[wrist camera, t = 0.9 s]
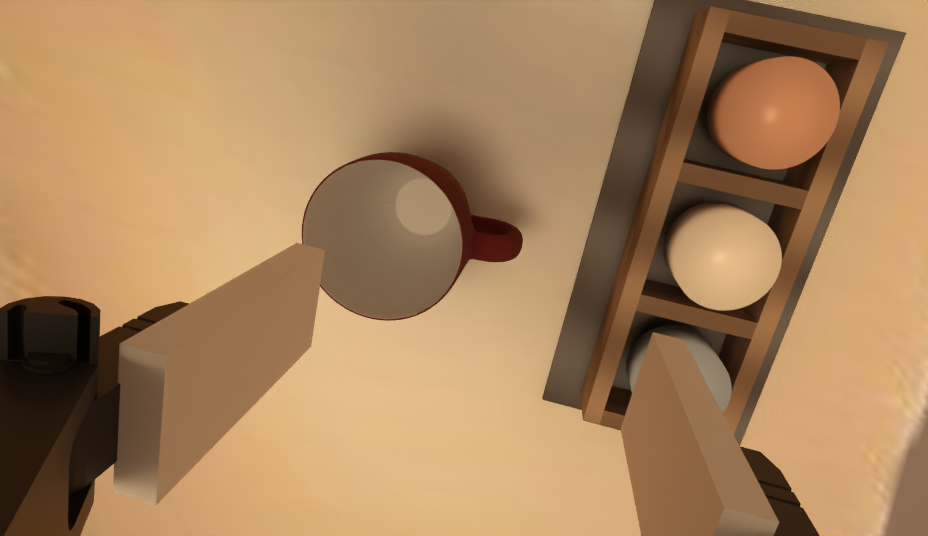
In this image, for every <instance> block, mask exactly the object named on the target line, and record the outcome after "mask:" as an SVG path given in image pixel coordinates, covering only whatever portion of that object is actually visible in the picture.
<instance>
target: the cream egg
mask: <svg viewBox="0 0 928 536" xmlns="http://www.w3.org/2000/svg"><path fill="white" fill-rule="evenodd" d="M664 257H665V261H666V264H667V267H668V269H669V271H670V272H671V274H672V275H673V277H674V278H675V280H676V281H677V283H678V284H679V286H680V287H681V289H682V290H683V292H684V293H685V294H686V295H687V296H688V297H689V298H690V299H691V300H693V301H694V302H696V303H697V304H699V305H701V306H703V307H706V308H709V309H714V310H734V309H739V308H742V307H745V306H748V305H750V304H752V303H754V302H756V301H757V300H759V299H760V298H761V297H763V296H764V295H765V294H766V293H767V292H768V291H769V290H770V288H771V287H772V286H773V284H774V283H775V281H776V279H777V277H778V275H779V272H780V269H781V263H782V253H781V247H780V244H779V241H778V239H777V237H776V235H775V234H774V232H773V231H772V230H771V228H770V227H769V226H768V225H766V224H765V223H764V222H763V221H761V220H760V219H758V218H756V217H755V216H753V215H751V214H750V213H748V212H746V211H745V210H743V209H741V208H740V207H738V206H736V205H733V204H730V203H726V202H715V201H714V202H706V203H701V204H698V205H696V206H693V207H691V208H689V209H688V210H686V211H685V212H683V213H682V214H681V215H680V216H679V217H678V218H677V219H676V220H675V221H674V222H673V224H672V225H671V227H670V228H669V230H668V232H667V235H666V238H665V242H664Z"/></svg>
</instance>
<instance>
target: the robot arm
mask: <svg viewBox="0 0 928 536" xmlns="http://www.w3.org/2000/svg"><path fill="white" fill-rule="evenodd" d="M324 255H325V250H323V249H319V248H315V247H311V246H307V245H303V244H299V243H296V244H294V245H292V246H291V247H289V248H287V249H285V250H284V251H282V252H280V253H278V254H276V255H275V256H273V257H271V258H269V259H268V260H266V261H264V262H262V263H261V264H259V265H257V266H255V267H254V268H252V269H250V270H248V271H247V272H245V273H243V274H241V275H240V276H238V277H236V278H234V279H233V280H231V281H229V282H227V283H225V284H224V285H222V286H220V287H218V288H217V289H215V290H213V291H211V292H210V293H208V294H206V295H204V296H203V297H201V298H199V299H197V300H196V301H194V302H192V303H190V304H188V303H184V302H176V303H172V304H167V305H163V306H159V307H155V308H153V309H151V310H149V311H148V312H146V313H144V314H142V315H140V316H138V318H137V319H132V320H131V321H129V322H127V323H125V324H123V326H122V327H117V328H115V329H113V330H112V331H110V332H108V333H106V334H104V335H102V336H100V337H99V335H100V309H99V308H98V307H96V306H95V305H94V304H93V303H90V302H87V301H84V300H82V299H76V298H70V297H58V296H43V297H35V298H26V299H22V300H19V301H15V302H12V303H8V304H7V305H5V306H3V307H1V308H0V536H80V535H81V532H82V530H83V527H84V525H85V522H86V520H87V517H88V515H89V512H90V510H91V507H92V505H93V502H94V487H95V479H96V478H97V477H98V476H99V475H101V474H102V473H103V472H104V471H105V470H107V469H108V468H109V467H110V466H111V465H113V464H114V481H113V493H116V494H119V495H122V496H126V497H129V498H133V499H136V500H140V501H143V502H146V503H150V504H153V505H157V504H158V503H159V502H160V501H161V500H162V499H163V497H164V496H165V495H166V494H167V493H168V492H169V491H170V490H171V489H172V488H173V487H174V486H175V485H176V484H177V483H178V482H179V481H180V480H181V479H182V478H183V477H184V476H185V475H186V474H187V473H188V472H189V471H190V470H191V469H192V468H193V467H194V466H195V465H196V464H197V463H198V462H199V461H200V460H201V459H202V458H203V457H204V456H205V454H206V453H207V452H208V451H209V450H210V449H211V448H212V447H213V446H214V445H215V444H216V443H217V442H218V441H219V440H220V439H221V438H222V437H223V436H224V435H225V434H226V433H227V432H228V431H229V430H230V429H231V428H232V427H233V426H234V425H235V424H236V423H237V422H238V421H239V420H240V419H241V418H242V417H243V416H244V415H245V414H246V413H247V411H248V410H249V409H250V408H251V407H252V406H253V405H254V404H255V403H256V402H257V401H258V400H259V399H260V398H261V397H262V396H263V395H264V394H265V393H266V392H267V391H268V390H269V389H270V388H271V387H272V386H273V385H274V384H275V383H276V382H277V381H278V380H279V379H280V378H281V377H282V376H283V375H284V374H285V373H286V372H287V371H288V370H289V368H290V367H291V366H292V365H293V364H294V363H295V362H296V361H297V360H298V359H299V358H300V357H301V356H302V355H303V354H304V353H305V352H306V351H307V350H308V349H309V348H310V347H311V342H312V336H313V329H314V322H315V315H316V309H317V302H318V295H319V289H320V282H321V275H322V268H323V262H324ZM621 433H622V438H623V443H624V448H625V453H626V458H627V464H628V469H629V474H630V479H631V484H632V489H633V495H634V500H635V505H636V510H637V515H638V520H639V526H640V531H641V536H819V534H818V532H817V531H816V529H815V527H814V526H813V524H812V522H811V521H810V519H809V517H808V516H807V514H806V512H805V511H804V509H803V508H801V507H800V502H799V501H798V499H797V497H796V496H795V494H794V492H791V487H790V486H789V484H788V482H787V481H786V479H785V477H784V475H783V474H782V472H781V470H779V469H778V468H777V467H776V466H775V465H774V464H773V463H772V462H771V461H770V460H769V459H767V458H766V457H765V456H764V455H763V454H762V453H761V452H759V451H755V450H751V449H747V448H743V447H740V446H739V444H738V442H737V440H736V439H735V437H734V435H733V433H732V431H731V429H730V427H729V425H728V423H727V421H726V419H725V418H724V416H723V414H722V412H721V410H720V408H719V406H718V404H717V402H716V400H715V398H714V396H713V395H712V393H711V391H710V389H709V387H708V385H707V383H706V381H705V379H704V377H703V375H702V374H701V372H700V370H699V368H698V366H697V364H696V362H695V360H694V358H693V356H692V354H691V352H690V351H689V349H688V347H687V345H686V343H685V341H684V340H682V339H678V338H674V337H670V336H666V335H662V334H658V333H654V332H653V333H652V336H651V339H650V342H649V345H648V348H647V351H646V354H645V357H644V360H643V363H642V366H641V369H640V372H639V375H638V378H637V381H636V384H635V387H634V390H633V393H632V396H631V399H630V402H629V405H628V408H627V411H626V414H625V417H624V420H623V423H622V426H621Z"/></svg>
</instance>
